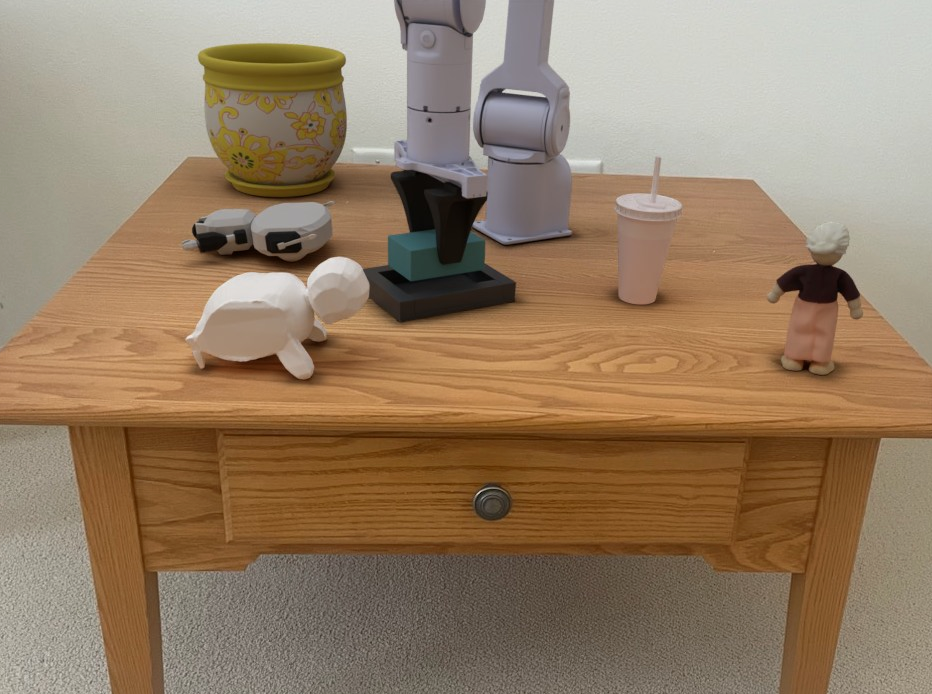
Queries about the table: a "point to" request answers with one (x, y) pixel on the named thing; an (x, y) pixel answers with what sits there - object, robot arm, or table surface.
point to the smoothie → (644, 240)
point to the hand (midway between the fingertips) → (436, 253)
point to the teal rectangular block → (431, 256)
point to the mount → (437, 292)
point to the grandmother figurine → (817, 300)
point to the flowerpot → (275, 115)
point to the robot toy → (265, 230)
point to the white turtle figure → (278, 314)
